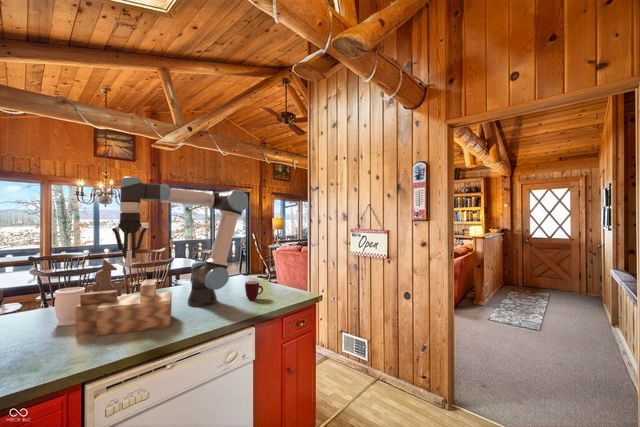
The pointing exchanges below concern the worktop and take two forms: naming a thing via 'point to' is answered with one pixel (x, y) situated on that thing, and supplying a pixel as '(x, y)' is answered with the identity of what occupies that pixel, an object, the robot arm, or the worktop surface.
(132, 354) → the worktop surface
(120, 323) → the toolbox
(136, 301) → the lid
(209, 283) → the robot arm
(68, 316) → the jar
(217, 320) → the worktop surface
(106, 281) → the wooden toy
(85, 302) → the wooden block
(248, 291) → the mug
